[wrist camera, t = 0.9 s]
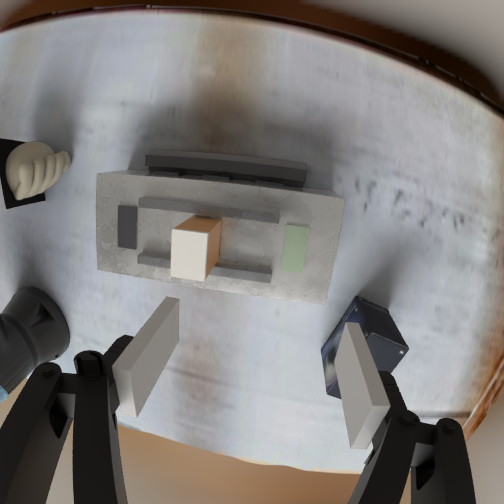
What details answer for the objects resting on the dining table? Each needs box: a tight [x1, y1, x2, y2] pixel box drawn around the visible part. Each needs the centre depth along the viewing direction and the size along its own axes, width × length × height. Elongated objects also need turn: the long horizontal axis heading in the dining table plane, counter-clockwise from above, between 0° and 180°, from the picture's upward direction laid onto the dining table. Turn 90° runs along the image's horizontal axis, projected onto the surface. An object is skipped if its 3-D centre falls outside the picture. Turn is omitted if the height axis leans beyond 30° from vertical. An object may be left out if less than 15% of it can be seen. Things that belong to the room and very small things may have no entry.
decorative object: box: [0, 138, 70, 209], centre depth 36 cm, size 13×10×10 cm
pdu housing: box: [96, 170, 345, 305], centre depth 37 cm, size 28×12×9 cm, turn 84°
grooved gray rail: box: [145, 149, 306, 187], centre depth 38 cm, size 20×3×3 cm, turn 84°
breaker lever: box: [170, 216, 222, 282], centre depth 30 cm, size 3×4×6 cm
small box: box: [321, 296, 409, 399], centre depth 39 cm, size 11×6×10 cm, turn 156°
